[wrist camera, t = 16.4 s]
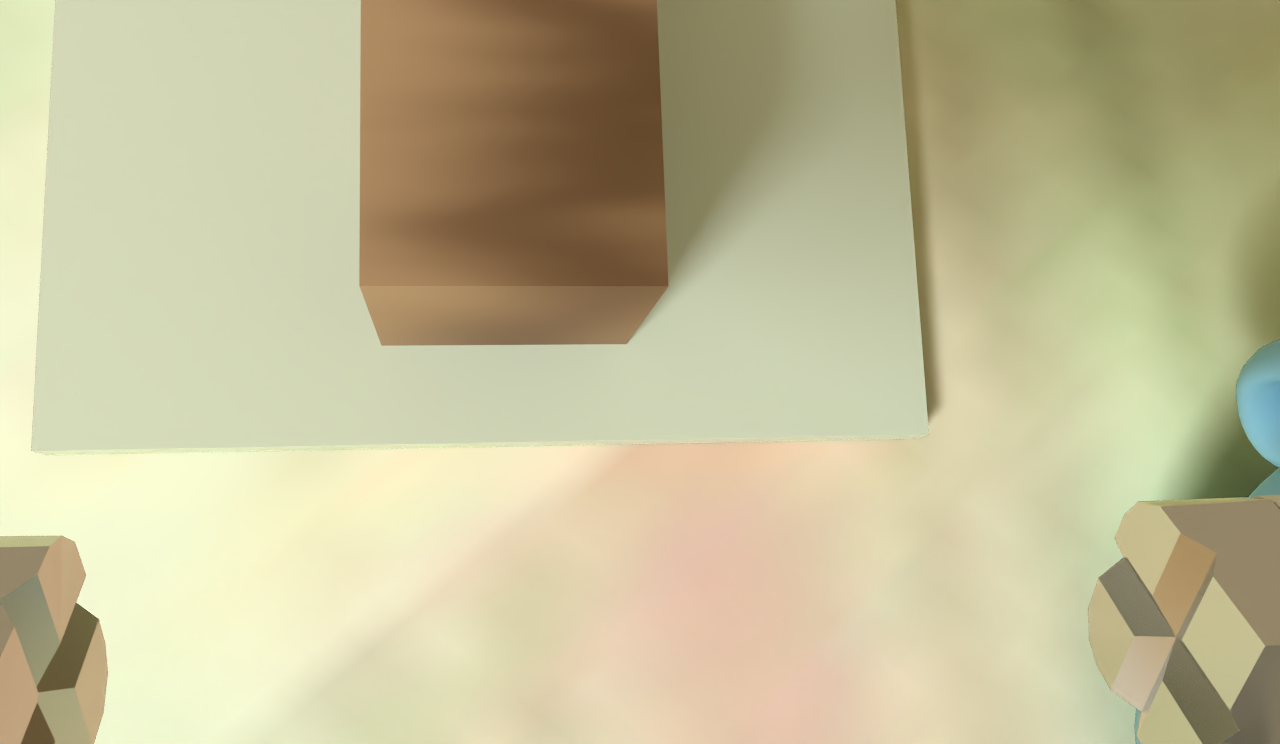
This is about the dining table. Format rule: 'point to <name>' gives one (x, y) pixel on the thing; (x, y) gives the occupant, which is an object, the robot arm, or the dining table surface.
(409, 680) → the dining table surface
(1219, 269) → the dining table surface
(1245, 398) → the decorative pot
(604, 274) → the walnut block
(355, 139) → the sage mat
